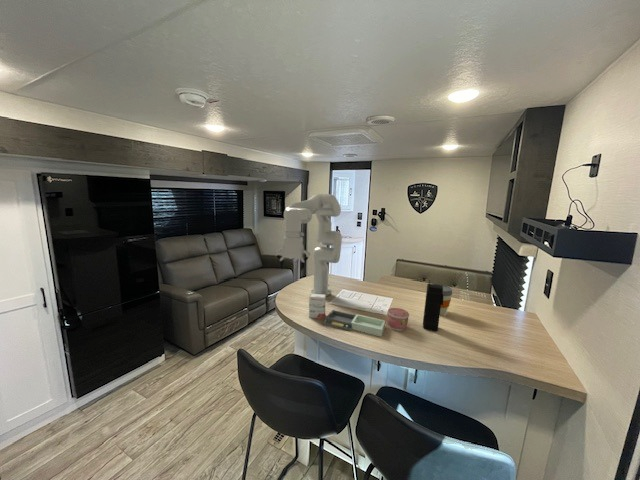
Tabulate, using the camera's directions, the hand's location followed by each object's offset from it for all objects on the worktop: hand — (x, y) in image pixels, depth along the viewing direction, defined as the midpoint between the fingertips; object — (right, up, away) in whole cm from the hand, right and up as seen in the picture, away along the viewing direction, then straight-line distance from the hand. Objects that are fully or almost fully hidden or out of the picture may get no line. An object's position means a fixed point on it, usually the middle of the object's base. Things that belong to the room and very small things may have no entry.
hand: (292, 268), depth 125 cm
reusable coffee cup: (+82, -28, +23) cm, 90 cm away
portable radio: (+70, -31, +4) cm, 77 cm away
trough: (+38, -30, +2) cm, 48 cm away
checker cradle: (+25, -28, +7) cm, 38 cm away
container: (+53, -30, +4) cm, 61 cm away
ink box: (+12, -27, +13) cm, 32 cm away
